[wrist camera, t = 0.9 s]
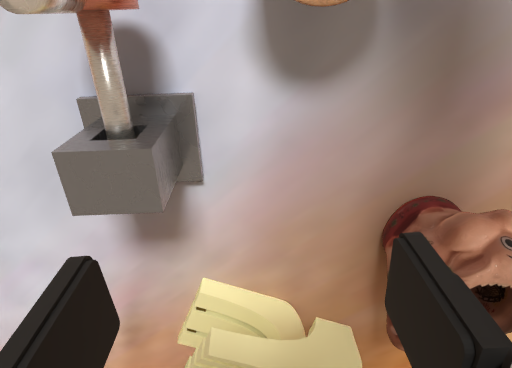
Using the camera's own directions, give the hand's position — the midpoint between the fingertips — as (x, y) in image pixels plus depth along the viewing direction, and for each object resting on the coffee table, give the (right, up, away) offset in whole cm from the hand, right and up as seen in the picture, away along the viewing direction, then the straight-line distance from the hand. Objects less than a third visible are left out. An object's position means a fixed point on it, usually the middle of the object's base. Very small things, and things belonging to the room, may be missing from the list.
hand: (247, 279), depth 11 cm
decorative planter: (+21, -4, +34) cm, 41 cm away
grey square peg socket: (-12, +8, +27) cm, 31 cm away
